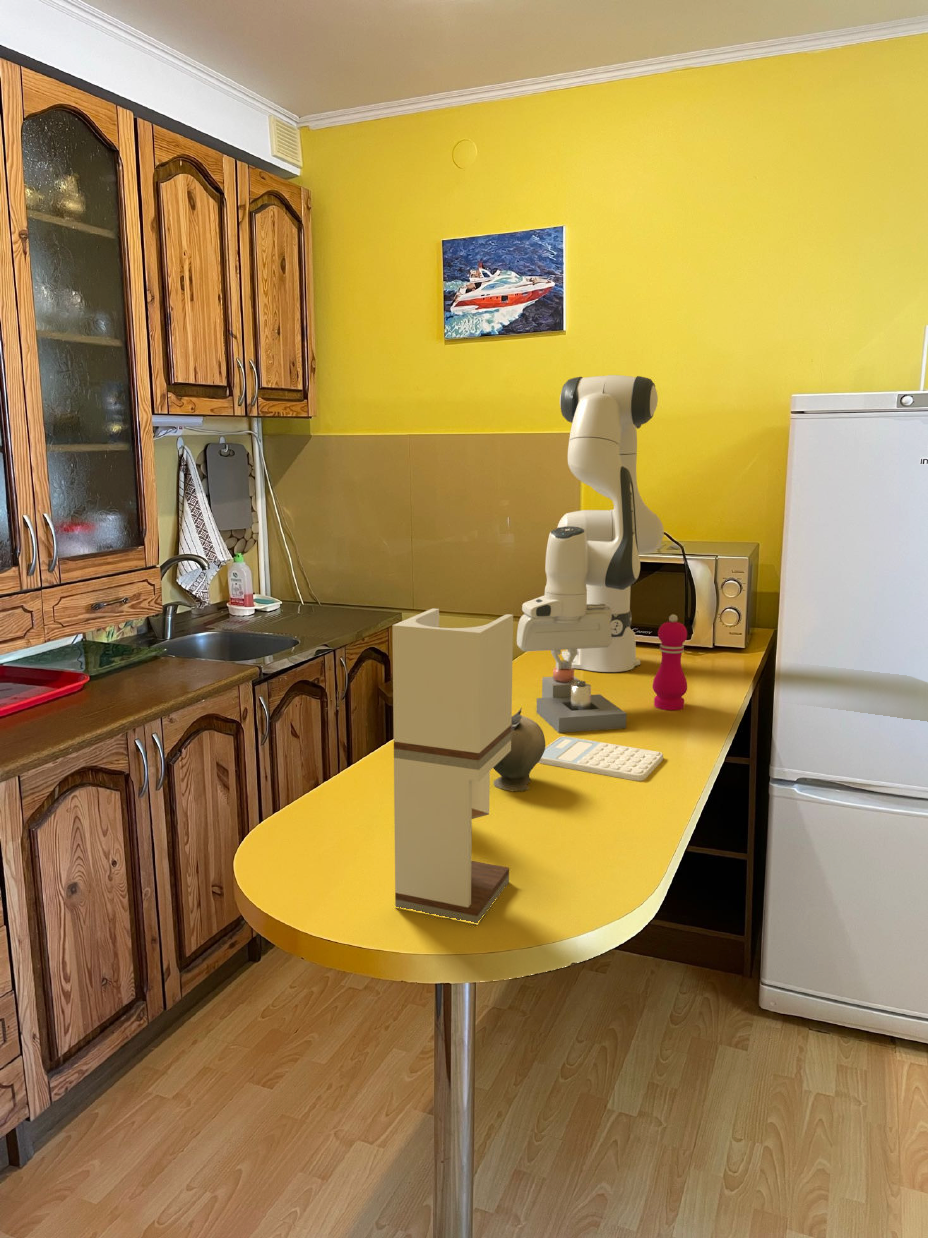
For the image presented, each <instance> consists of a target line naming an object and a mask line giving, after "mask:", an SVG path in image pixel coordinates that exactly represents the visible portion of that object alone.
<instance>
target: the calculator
mask: <svg viewBox="0 0 928 1238" xmlns="http://www.w3.org/2000/svg"><path fill="white" fill-rule="evenodd" d="M663 760H664V754H663V753H662V752H661V751H655V750H649V749H645V748H643V749H642V748H638V747H632V746H631V747H630V746H626V745H621V744H614V743H608V742H601V741H595V740H589V739H583V738H577V737H573V736H571V737H570V736H559V737H558V738H556V739H555V740H553V741H551V743H549V744H548V745H546V746H545V751H544V753H543V755H542V757H541V759H540V761H539V762H538V763H537V764H542V765H547V766H552V767H558V768H564V769H569V770H575V771H579V772H580V771H581V772H585V773H589V774H590V773H592V774H597V775H603V776H608V777H613V778H619V779H625V780H630V781H635V782H642V781H644V780H646V779H647V778H648V777H649V776H650V774H652V773H653V771H654V770H655V769H656V768H657V767H658V766H659V765H660V764H661V763H662V762H663Z"/></svg>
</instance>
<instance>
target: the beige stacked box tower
mask: <svg viewBox="0 0 928 1238" xmlns="http://www.w3.org/2000/svg"><path fill="white" fill-rule="evenodd" d="M513 639H514V614H510V613H509V614H507V613H506V614H504V615H502V616H500V617H498V618H497V619H495V620H493V621H490V622H489V623H486V624H484V625H478V626H472V627H440V609H439V608H431V609H427V610H426V611H424V612H421V613H419V614H416V615H413V616H411V617H409V618H407V619H406V618H405V619H404V620H402V621H399V622H398V623H397V622H396V623H395V624H392V690H393V691H392V692H393V693H392V699H393V701H392V703H393V705H392V707H393V708H392V709H393V712H392V714H393V716H392V717H393V779H394V780H393V797H394V798H393V803H394V806H393V807H394V809H393V810H394V811H393V812H394V813H393V814H394V815H393V816H394V887H395V888H394V892H395V894H394V895H395V897H394V899H395V901H394V903H395V904H394V906H396V907H399V908H400V907H401V908H406V909H413V910H416V911H422V912H425V913H429V914H436V915H439V916H445V917H449V918H456V919H457V920H460V919H461V920H466V921H471V922H474V923H478V921H479V920H480V919H481V918H482V916H483V915H484V914H485V913H486V912H487V910H488V909H489V908H490V906H491V905H492V903H493V902H494V901H495V899H496V898H497V897H498V896H499V897H500V895H501V894H502V893H501V892H503V891H504V890H505V889H504V887H505V888H506V887H507V886H508V885H509V883H510V867H507V866H503V865H497V864H491V863H486V862H480V861H474V860H472V836H473V835H472V824H473V823H472V822H473V821H472V820H475V819H478V818H481V817H484V816H485V817H486V816H489V815H490V785H491V784H490V783H491V782H490V781H491V780H490V778H491V776H490V772H491V771H492V769H494V768H493V767H494V766H495V765H496V764H497V763H499V762H500V761H501V760H502V759H503V758H504V757H505V756H506V755H507V754H508V753H509V752H510V751H511V720H512V716H513V714H512V713H513V712H512V711H513V710H512V709H513V704H512V703H513V658H514V657H513V653H514V652H513V651H514V649H513V648H514V647H513V646H514V645H513V644H514V640H513ZM506 885H507V886H506ZM503 889H504V890H503ZM502 890H503V891H502ZM500 893H501V894H500ZM499 894H500V895H499ZM499 897H498V898H499ZM498 898H497V899H498ZM497 899H496V900H497ZM495 902H496V901H495ZM495 902H494V903H495ZM492 906H493V905H492ZM492 906H491V907H492ZM490 909H491V908H490ZM490 909H489V910H490ZM489 910H488V911H489ZM487 913H488V912H487ZM487 913H486V914H487ZM486 914H485V915H486Z"/></svg>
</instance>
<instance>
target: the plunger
mask: <svg viewBox="0 0 928 1238" xmlns="http://www.w3.org/2000/svg"><path fill="white" fill-rule="evenodd" d="M574 676H575V668H571V670H557V669H556V667H554V668H553V671H552V677H553V679H554V680H557V681H571V680H574Z"/></svg>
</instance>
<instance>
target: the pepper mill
mask: <svg viewBox="0 0 928 1238" xmlns="http://www.w3.org/2000/svg"><path fill="white" fill-rule="evenodd" d="M668 619H669V621H666V622H663V623H661V625H660V626H659V628H658V631H657V637H658V639H659V640H660V644H659V651H660V652H661V662H660V666H659V668H658V670H657V672H656V674H655V676H654V678H653V681H652V689H653V692H654V693H655V694H656V695H655V696H654V699H653V706H654V707H655V708H656V709H660V710H664V711H678V710H679V711H680V710H682V709H684V707H685V698H684V697H683V696H684V695H686V693H687V691H688V682H687V678H686V676H685V674H684V671H683V667H682V654H683V653H684V651H685V650H684V647H685V645H684V644H683V643H684V642H685V641H686V640H687V638H688V630H687V627H686V626H685V625H684V624H683V623H681V622H678V620H679V619H678V616H677V615H676V614H670V615H669V616H668Z"/></svg>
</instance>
